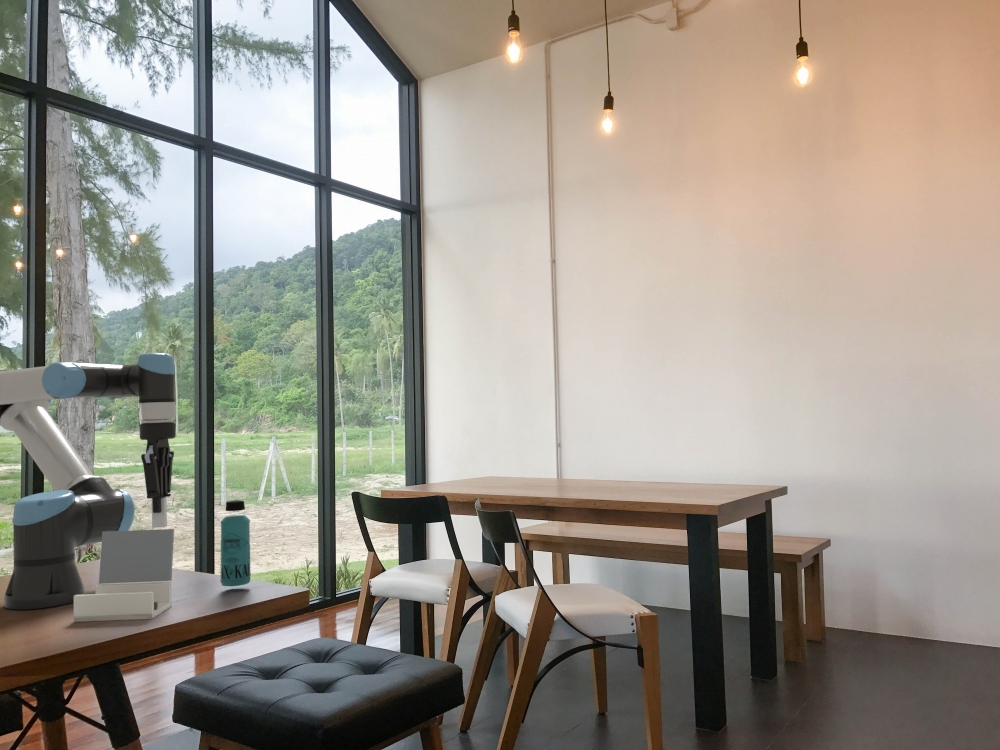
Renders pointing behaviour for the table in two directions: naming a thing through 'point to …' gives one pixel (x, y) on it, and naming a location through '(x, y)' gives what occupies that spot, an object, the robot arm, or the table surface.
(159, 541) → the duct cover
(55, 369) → the robot arm
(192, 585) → the table surface
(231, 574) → the beverage bottle
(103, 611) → the white boxy piece
